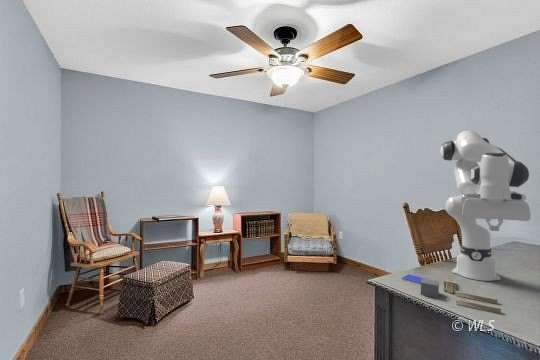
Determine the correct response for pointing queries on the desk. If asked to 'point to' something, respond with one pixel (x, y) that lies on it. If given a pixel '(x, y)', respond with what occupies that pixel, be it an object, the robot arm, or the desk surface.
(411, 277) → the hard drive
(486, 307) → the cradle
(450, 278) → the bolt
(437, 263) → the desk surface
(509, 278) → the desk surface
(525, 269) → the desk surface
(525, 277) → the desk surface
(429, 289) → the block
